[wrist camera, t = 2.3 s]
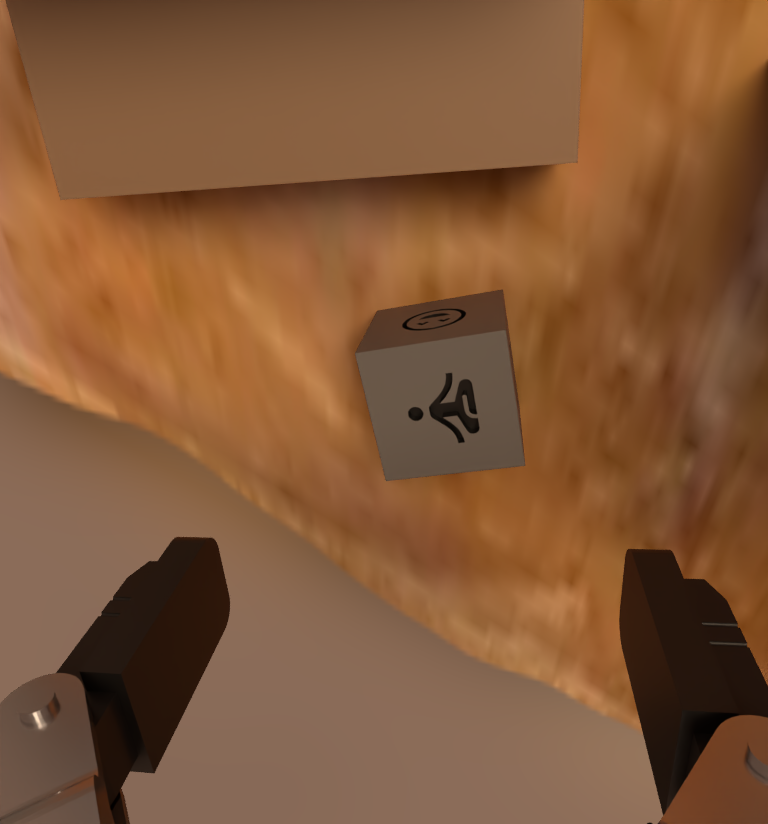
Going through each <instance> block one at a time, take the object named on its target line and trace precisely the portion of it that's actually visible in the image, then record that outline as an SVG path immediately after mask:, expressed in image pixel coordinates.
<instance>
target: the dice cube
mask: <svg viewBox="0 0 768 824" xmlns="http://www.w3.org/2000/svg"><path fill="white" fill-rule="evenodd" d="M355 355H356V360H357V364H358V368H359V372H360V376H361V380H362V384H363V388H364V392H365V397H366V401H367V405H368V409H369V413H370V417H371V421H372V425H373V430H374V434H375V438H376V442H377V446H378V450H379V454H380V458H381V463H382V467H383V471H384V475H385V479H386V481H391V480H400V479H409V478H418V477H427V476H436V475H445V474H454V473H463V472H472V471H481V470H491V469H500V468H509V467H518V466H525V459H524V449H523V439H522V429H521V418H520V408H519V401H518V394H517V386H516V379H515V372H514V365H513V358H512V351H511V344H510V337H509V330H508V323H507V316H506V309H505V301H504V294H503V290H497V291H492V292H486V293H480V294H474V295H468V296H462V297H456V298H450V299H444V300H438V301H432V302H426V303H420V304H415V305H409V306H403V307H397V308H391V309H385V310H379V311H377V313H376V315H375V316H374V318H373V320H372V322H371V324H370V326H369V328H368V330H367V332H366V333H365V335H364V337H363V339H362V341H361V343H360V345H359V347H358V349H357V351H356V352H355Z"/></svg>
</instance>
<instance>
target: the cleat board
mask: <svg viewBox="0 0 768 824" xmlns="http://www.w3.org/2000/svg"><path fill="white" fill-rule="evenodd" d="M6 4H7V7H8V11H9V15H10V18H11V22H12V25H13V29H14V33H15V36H16V40H17V44H18V47H19V51H20V54H21V58H22V62H23V65H24V69H25V72H26V76H27V80H28V83H29V87H30V91H31V94H32V98H33V101H34V105H35V109H36V112H37V116H38V120H39V123H40V127H41V130H42V134H43V138H44V141H45V145H46V149H47V152H48V156H49V159H50V163H51V167H52V170H53V174H54V178H55V181H56V185H57V188H58V192H59V196H60V199H61V200H65V199H79V198H93V197H107V196H120V195H134V194H148V193H162V192H176V191H190V190H204V189H218V188H232V187H245V186H259V185H273V184H287V183H301V182H315V181H329V180H343V179H357V178H370V177H384V176H398V175H412V174H426V173H440V172H454V171H468V170H481V169H495V168H509V167H523V166H537V165H551V164H565V163H577V162H578V137H579V113H580V88H581V63H582V39H583V14H584V0H6Z"/></svg>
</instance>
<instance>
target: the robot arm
mask: <svg viewBox="0 0 768 824" xmlns="http://www.w3.org/2000/svg"><path fill="white" fill-rule="evenodd" d="M229 612H230V598H229V593H228V588H227V584H226V579H225V575H224V571H223V566H222V562H221V557H220V553H219V548H218V545H217V542H216V541H215V540H214V539H213V538H199V537H176V538H175V539H173V540H172V542H171V543H170V544H169V546H168V547H167V548H166V550H165V551H164V553H163V554H162V556H161V557H160V558H159V560H158V561H149V562H148V563H146V564H145V565H144V566H142V567H141V568H140V569H138V570H137V571H136V572H134V573H133V574H132V575H130V576H129V577H128V578H127V579H126V580H125V582H124V583H123V584H122V586H121V587H120V588H119V590H118V591H117V592H116V594H115V595H114V596H113V601H110V602H109V603H108V604H107V606H106V607H105V608H104V610H103V611H102V615H101V616H99V617H98V618H97V619H96V620H95V622H94V623H93V624H92V626H91V627H90V628H89V630H88V631H87V633H86V634H85V635H84V636H83V638H82V639H81V640H80V642H79V643H78V644H77V646H76V647H75V648H74V650H73V651H72V652H71V654H70V655H69V656H68V658H67V659H66V660H65V662H64V663H63V664H62V666H61V667H60V668H59V670H58V671H57V672H56V673H55V674H48V675H44V676H41V677H38V678H35V679H33V680H31V681H29V682H27V683H25V684H23V685H22V686H20V687H18V688H17V689H16V690H14V691H13V692H12V693H10V694H9V695H8V696H7V697H6V698H5V699H4V700H3V701H2V702H1V704H0V824H130V822H129V817H128V812H127V807H126V803H125V798H124V795H123V792H122V789H121V787H122V785H123V783H124V782H125V780H126V777H127V776H128V774H129V772H130V771H134V772H145V773H155V771H156V768H157V767H158V765H159V762H160V761H161V758H162V756H163V754H164V752H165V750H166V748H167V746H168V744H169V742H170V740H171V738H172V736H173V734H174V732H175V730H176V728H177V726H178V724H179V722H180V720H181V718H182V716H183V714H184V712H185V710H186V708H187V706H188V704H189V702H190V700H191V698H192V695H193V693H194V691H195V689H196V687H197V685H198V683H199V681H200V679H201V677H202V675H203V673H204V671H205V669H206V667H207V665H208V663H209V661H210V659H211V657H212V654H213V653H214V651H215V648H216V647H217V645H218V643H219V640H220V638H221V637H222V635H223V632H224V630H225V628H226V625H227V622H228V618H229ZM619 624H620V638H621V645H622V650H623V654H624V658H625V662H626V666H627V670H628V674H629V678H630V682H631V686H632V690H633V694H634V698H635V702H636V707H637V711H638V715H639V719H640V723H641V727H642V731H643V735H644V739H645V743H646V747H647V751H648V755H649V759H650V763H651V767H652V771H653V775H654V780H655V784H656V787H657V792H658V796H659V799H660V804H661V808H662V812H663V817H662V819H661V820H660V821H659V823H658V824H768V686H767V684H766V682H765V680H764V677H763V675H762V673H761V671H760V669H759V667H758V665H757V663H756V661H755V659H754V657H753V654H752V652H751V650H750V648H747V642H746V640H745V638H744V636H743V634H742V631H741V629H740V628H738V625H737V624H738V623H737V621H736V619H735V617H734V615H733V613H732V611H731V608H730V606H729V604H728V602H727V600H726V599H725V598H724V597H723V596H722V595H721V594H719V593H718V592H717V591H716V590H715V589H714V588H713V587H712V586H711V585H710V584H709V583H708V582H707V581H705V580H704V579H684V578H683V576H682V573H681V571H680V568H679V566H678V563H677V561H676V559H675V556H674V554H673V552H672V551H671V550H650V549H628V550H627V552H626V556H625V565H624V575H623V585H622V595H621V605H620V618H619ZM647 824H652V823H647Z"/></svg>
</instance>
